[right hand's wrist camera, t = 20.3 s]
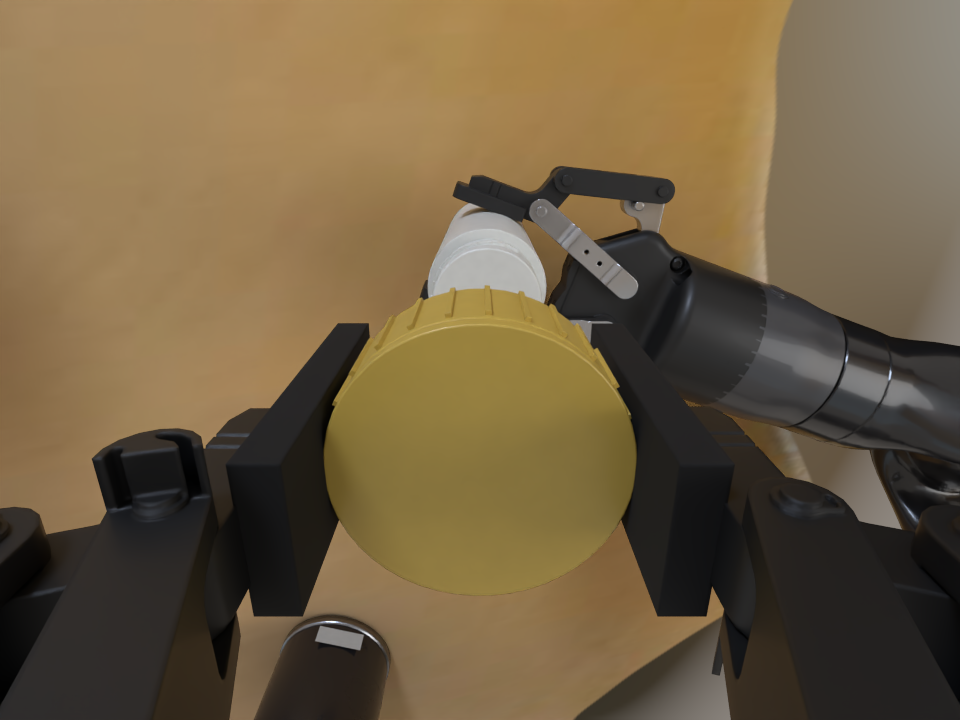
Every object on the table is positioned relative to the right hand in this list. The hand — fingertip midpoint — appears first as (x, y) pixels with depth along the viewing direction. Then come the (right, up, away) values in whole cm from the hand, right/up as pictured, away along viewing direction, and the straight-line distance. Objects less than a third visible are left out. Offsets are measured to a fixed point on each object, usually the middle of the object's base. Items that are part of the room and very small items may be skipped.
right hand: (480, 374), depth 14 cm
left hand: (-2, +7, +15) cm, 17 cm away
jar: (0, +8, +22) cm, 23 cm away
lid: (0, -2, -4) cm, 4 cm away
